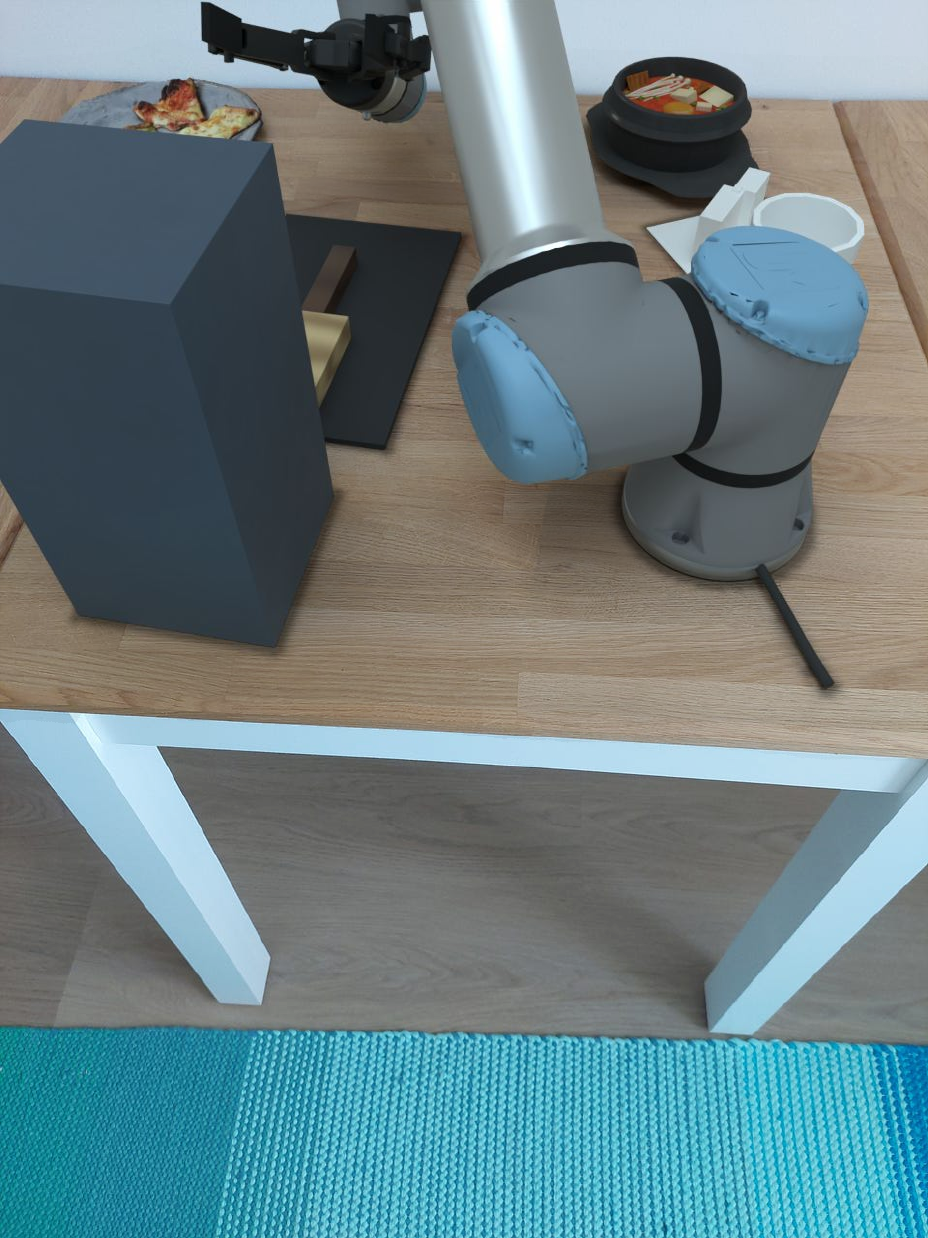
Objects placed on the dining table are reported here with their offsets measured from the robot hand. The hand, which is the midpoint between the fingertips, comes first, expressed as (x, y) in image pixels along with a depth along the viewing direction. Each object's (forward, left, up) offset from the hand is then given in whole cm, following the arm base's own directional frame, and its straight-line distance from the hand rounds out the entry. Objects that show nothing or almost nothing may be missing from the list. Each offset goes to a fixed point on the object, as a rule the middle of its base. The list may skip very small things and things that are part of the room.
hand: (286, 27), depth 74 cm
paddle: (-5, +2, -25) cm, 26 cm away
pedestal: (-31, +11, -26) cm, 42 cm away
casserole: (+23, -42, -26) cm, 55 cm away
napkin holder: (+5, -44, -26) cm, 52 cm away
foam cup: (-13, -42, -26) cm, 51 cm away
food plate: (+37, +18, -26) cm, 49 cm away
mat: (-2, 0, -26) cm, 26 cm away
